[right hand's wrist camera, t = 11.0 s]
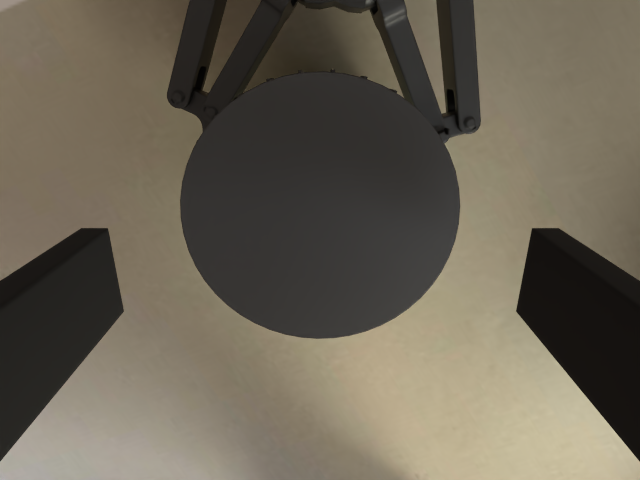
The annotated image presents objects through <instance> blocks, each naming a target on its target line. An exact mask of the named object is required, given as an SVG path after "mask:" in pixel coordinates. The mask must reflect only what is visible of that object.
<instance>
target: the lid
mask: <svg viewBox="0 0 640 480" xmlns="http://www.w3.org/2000/svg"><path fill="white" fill-rule="evenodd" d="M298 72H299V73H297V74H292V75H287V76H282V77H279V78H276V79H274V78H269V79H266V80H267V82H264V83H262V84H260V85H258V86H256V87H254V88H252V89H250V90H248V91H246V92H245V93H241V94H239V95H238V98H236V99H235V100H233V101H232V102H231V103H229V104H228V105H227V106H226V107H225V108H224V109H223V110H222V111H221V112H220V113H219V114H217V115H215V116H214V119H213V120H212V121H211V123H210V124H209V125H208V126H207V128H206V129H205V130H204V131H203V133H202V135H201V136H200V138H199V140H197V142H196V145H195V146H194V148H193V151H192V153H191V156H190V158H189V160H188V163H187V166H186V170H185V174H184V177H183V181H182V189H181V199H180V206H181V221H182V227H183V233H184V237H185V240H186V244H187V247H188V250H189V253H190V255H191V257H192V259H193V261H194V263H195V266H196V267H197V269H198V271H199V272H200V274H201V275H202V277H203V279H204V280H205V282H206V283H207V284H208V285H209V286H210V288H211V289H212V290H213V291H214V293H215V294H216V295H217V296H218V297H219V298H221V299H222V300H223V301H224V302H225V303H226V304H227V305H228V306H229V307H231V308H232V309H233V310H235V311H236V312H237V313H239V314H240V315H242V316H243V317H245V318H247V319H248V320H250V321H252V322H254V323H256V324H258V325H260V326H262V327H265V328H267V329H269V330H272V331H276V332H279V333H282V334H286V335H291V336H296V337H302V338H316V339H321V338H337V337H344V336H350V335H354V334H358V333H361V332H365V331H368V330H370V329H373V328H376V327H378V326H381V325H383V324H384V323H386V322H388V321H390V320H392V319H394V318H396V317H397V316H398V315H400V314H401V313H403V312H404V311H406V310H407V309H409V308H410V307H411V306H412V305H413V304H414V303H415V302H417V301H418V300H419V299H420V298H421V297H422V296H423V295H424V294H425V293H426V291H427V290H428V289H429V288H430V287H431V286H432V285H433V283H434V282H435V280H436V279H437V277H438V276H439V274H440V273H441V271H442V270H443V268H444V266H445V264H446V262H447V260H448V258H449V256H450V253H451V250H452V247H453V245H454V242H455V238H456V234H457V229H458V224H459V213H460V197H459V186H458V181H457V176H456V171H455V168H454V165H453V163H452V160H451V157H450V154H449V152H448V150H447V148H446V146H445V144H444V143H443V141H442V139H441V136H440V135H439V134H438V133H437V131H436V130H435V129H434V127H433V126H432V124H431V123H430V122H429V121H428V120H427V119H426V117H425V116H424V115H423V114H422V111H421V110H419V109H417V108H416V107H415V106H413V105H412V104H411V103H409V102H408V101H407V100H406V99H404V98H403V97H402V96H400V95H399V94H397V91H396V90H392V89H388V88H386V87H385V86H383V85H380V84H378V83H375V82H373V81H370V80H368V79H367V77H366V76H360V77H357V76H353V75H349V74H345V73H335V70H331V72H324V71H322V72H303V71H302V70H300V71H298Z"/></svg>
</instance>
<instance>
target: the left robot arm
mask: <svg viewBox="0 0 640 480" xmlns="http://www.w3.org/2000/svg"><path fill="white" fill-rule="evenodd" d="M226 2H227V0H190V2H189V6H188V10H187V14H186V18H185V22H184V26H183V30H182V34H181V38H180V43H179V47H178V51H177V55H176V59H175V63H174V67H173V71H172V75H171V79H170V84H169V88H168V92H167V98H168V101H169V103H170V104H171V105H172V106H173V107H175V108H181V109H184V110H186V111H188V112H190V113H192V114H194V115H196V116H197V117H198V118H199V119H200V121H201V123H202V126H203V131H204V130H205V129H206V128H207V126H208V125H209V124H210V123H211V121H212V120H213V119H214V116H215V115H217V114H219V113H220V112H221V111H222V110H223V109H224V108H225V107H226V106H227V105H228V104H229V103H231V102H232V101H233V100H235V99H236V98H238V95H239V94H241V93H243V91H244V89H245V88H246V86H247V84H248V83H249V81H250V79H251V78H252V76H253V74H254V73H255V71H256V69H257V68H258V66H259V64H260V63H261V61H262V59H263V58H264V56H265V54H266V53H267V51H268V49H269V48H270V46H271V44H272V43H273V41H274V39H275V38H276V36H277V34H278V33H279V31H280V29H281V28H282V26H283V24H284V23H285V21H286V20H287V19H288V18H289V16H290V15H291V13H292V11H293V10H294V8H295V6H296V5H297V3H298V2H299V3H300V4H302V5H304V6H305V7H306V8H311V9H323V8H328V7H337V8H339V9H342V10H344V11H346V12H353V13H362V11H366V10H370V12H371V15H372V17H373V20H374V23H375V25H376V27H377V29H378V30H379V32H380V35H381V38H382V40H383V43H384V45H385V48H386V51H387V53H388V56H389V59H390V61H391V64H392V67H393V69H394V72H395V75H396V77H397V80H398V83H399V85H400V88H401V91H402V93H403V96H404V98H405V99H406V100H407V101H408V102H409V103H411V104H412V105H413V106H415V107H416V108H417V109H419V110H421V111H422V114H423V115H424V116H425V117H426V119H427V120H428V121H429V122H430V123H431V124H432V126H433V127H434V129H435V130H436V131H437V133H438V134H439V135H440V136H441V139H442V141H443V143H445V142H447V141H448V139H449V138H451V137H453V136H457V135H461V134H465V133H466V134H471V133H474V132H475V131H477V130H478V128H479V126H480V122H481V117H480V101H479V85H478V69H477V53H476V37H475V21H474V5H473V0H437V14H438V25H439V36H440V47H441V58H442V69H443V81H444V92H445V103H446V113H443V114H441V111H440V108H439V106H438V103H437V100H436V97H435V94H434V91H433V89H432V86H431V83H430V80H429V77H428V74H427V72H426V69H425V66H424V63H423V60H422V57H421V54H420V52H419V49H418V46H417V43H416V40H415V37H414V35H413V32H412V29H411V26H410V23H409V20H408V17H407V10H406V6H405V2H404V0H262V1H261V3H260V5H259V6H258V8H257V10H256V12H255V13H254V15H253V17H252V19H251V20H250V22H249V24H248V26H247V27H246V29H245V31H244V33H243V35H242V36H241V38H240V40H239V42H238V43H237V45H236V47H235V49H234V50H233V52H232V54H231V56H230V57H229V59H228V61H227V63H226V64H225V66H224V68H223V70H222V71H221V73H220V75H219V77H218V78H217V80H216V82H215V84H214V85H213V87H212V89H211V91H210V92H209V93H206V92H204V91H202V90H203V87H204V83H205V79H206V76H207V72H208V68H209V65H210V61H211V57H212V54H213V50H214V46H215V43H216V39H217V35H218V32H219V28H220V24H221V21H222V17H223V13H224V10H225V6H226Z"/></svg>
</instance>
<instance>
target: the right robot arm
mask: <svg viewBox="0 0 640 480" xmlns="http://www.w3.org/2000/svg"><path fill="white" fill-rule="evenodd" d="M123 312H124V310H123V305H122V299H121V294H120V289H119V284H118V279H117V273H116V268H115V263H114V258H113V252H112V247H111V242H110V237H109V232H108V228H81V229H80V230H78V231H76V232H75V233H73V234H72V235H70V236H69V237H67V238H66V239H64V240H63V241H61V242H60V243H58V244H56V245H55V246H53V247H52V248H50V249H49V250H47V251H46V252H44V253H43V254H41V255H40V256H38V257H36V258H35V259H33V260H32V261H30V262H29V263H27V264H26V265H24V266H23V267H21V268H20V269H18V270H16V271H15V272H13V273H12V274H10V275H9V276H7V277H6V278H4V279H3V280H1V281H0V461H1V460H2V459H3V457H4V456H5V455H6V454H7V453H8V451H9V450H10V449H11V448H12V446H13V445H14V444H15V443H16V442H17V440H18V439H19V438H20V437H21V436H22V434H23V433H24V432H25V431H26V429H27V428H28V427H29V426H30V425H31V423H32V422H33V421H34V420H35V419H36V417H37V416H38V415H39V414H40V412H41V411H42V410H43V409H44V408H45V406H46V405H47V404H48V403H49V402H50V400H51V399H52V398H53V397H54V395H55V394H56V393H57V392H58V391H59V389H60V388H61V387H62V386H63V385H64V383H65V382H66V381H67V380H68V378H69V377H70V376H71V375H72V374H73V372H74V371H75V370H76V369H77V368H78V366H79V365H80V364H81V363H82V362H83V360H84V359H85V358H86V357H87V355H88V354H89V353H90V352H91V351H92V349H93V348H94V347H95V346H96V345H97V343H98V342H99V341H100V340H101V338H102V337H103V336H104V335H105V334H106V332H107V331H108V330H109V329H110V328H111V326H112V325H113V324H114V323H115V321H116V320H117V319H118V318H119V317H120V315H121V314H122V313H123ZM516 312H517V313H518V314H519V315H520V317H521V318H522V319H523V320H524V321H525V323H526V324H527V325H528V326H529V328H530V329H531V330H532V331H533V332H534V334H535V335H536V336H537V337H538V338H539V340H540V341H541V342H542V343H543V345H544V346H545V347H546V348H547V349H548V351H549V352H550V353H551V354H552V355H553V357H554V358H555V359H556V360H557V362H558V363H559V364H560V365H561V366H562V368H563V369H564V370H565V371H566V372H567V374H568V375H569V376H570V377H571V378H572V380H573V381H574V382H575V383H576V385H577V386H578V387H579V388H580V389H581V391H582V392H583V393H584V394H585V395H586V397H587V398H588V399H589V400H590V402H591V403H592V404H593V405H594V406H595V408H596V409H597V410H598V411H599V412H600V414H601V415H602V416H603V417H604V419H605V420H606V421H607V422H608V423H609V425H610V426H611V427H612V428H613V429H614V431H615V432H616V433H617V434H618V436H619V437H620V438H621V439H622V440H623V442H624V443H625V444H626V445H627V446H628V448H629V449H630V450H631V451H632V453H633V454H634V455H635V456H636V457H637V459H638V460H639V461H640V281H639V280H637V279H636V278H634V277H633V276H631V275H630V274H628V273H627V272H625V271H624V270H622V269H620V268H619V267H617V266H616V265H614V264H613V263H611V262H610V261H608V260H607V259H605V258H604V257H602V256H600V255H599V254H597V253H596V252H594V251H593V250H591V249H590V248H588V247H587V246H585V245H584V244H582V243H580V242H579V241H577V240H576V239H574V238H573V237H571V236H570V235H568V234H567V233H565V232H564V231H562V230H560V229H559V228H532V232H531V237H530V242H529V247H528V252H527V258H526V263H525V268H524V273H523V279H522V284H521V289H520V294H519V299H518V305H517V310H516Z"/></svg>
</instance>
